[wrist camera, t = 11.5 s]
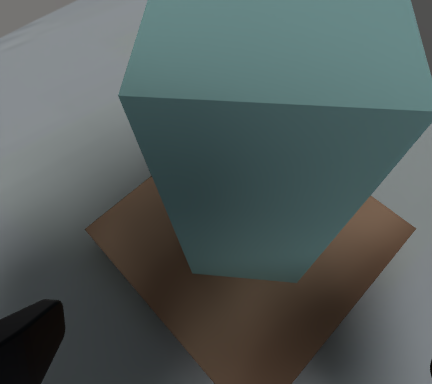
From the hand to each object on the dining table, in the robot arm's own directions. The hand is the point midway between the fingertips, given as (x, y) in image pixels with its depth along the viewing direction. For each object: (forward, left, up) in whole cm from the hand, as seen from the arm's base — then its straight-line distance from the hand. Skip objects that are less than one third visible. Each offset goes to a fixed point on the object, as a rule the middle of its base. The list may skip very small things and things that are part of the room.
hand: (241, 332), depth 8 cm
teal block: (+3, -4, -7) cm, 9 cm away
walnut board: (+3, -4, -9) cm, 10 cm away
